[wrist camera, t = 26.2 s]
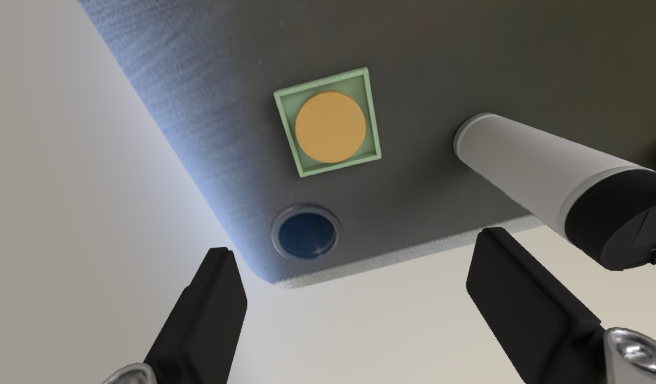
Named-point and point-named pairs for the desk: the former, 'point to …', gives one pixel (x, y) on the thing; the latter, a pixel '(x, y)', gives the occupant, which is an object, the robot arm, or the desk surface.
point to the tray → (346, 82)
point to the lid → (330, 126)
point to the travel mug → (567, 188)
